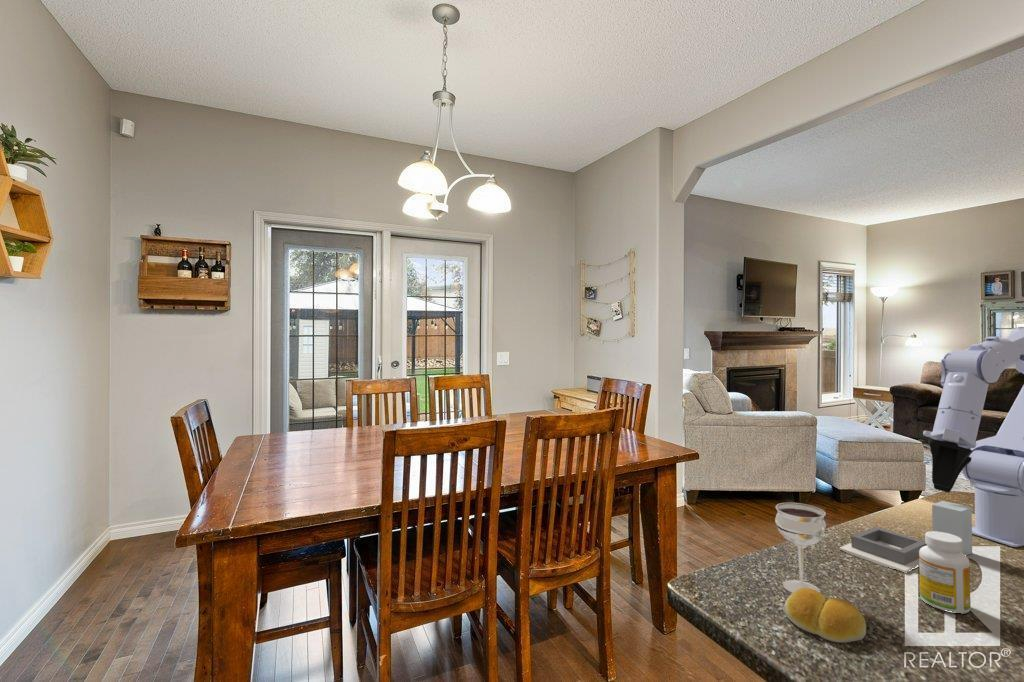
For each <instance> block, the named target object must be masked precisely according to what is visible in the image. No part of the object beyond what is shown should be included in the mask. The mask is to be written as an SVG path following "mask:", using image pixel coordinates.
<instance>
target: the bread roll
mask: <svg viewBox="0 0 1024 682" xmlns="http://www.w3.org/2000/svg"><path fill="white" fill-rule="evenodd" d="M783 610H784V614H785V616H786V617H787V619H788V620H789V621H790V622H791V623H793V624H794V625H795V626H796V627H798V628H799V629H801V630H803V631H805V632H807V633H811V634H813V635H817V636H819V637H820V638H822V639H824V640H827V641H830V642H832V643H840V644H842V643H851V642H852V643H853V642H857V641H862V640H863V639H864V638H865V636H866V634H867V622H866V620H865V618H864V615H863V613H862V612H861V611H860V610H859V609H858V608H857V607H856V606H854V605H853V604H851V603H850V602H848V601H846V600H844V599H841V598H836V597H831V598H830V597H829V598H828V597H826V595H824V594H823V593H822V592H821V593H820V592H818V591H816V590H813V589H810V588H801V589H798V590H797V591H795V592H794V593H792V592H791V594H790V595H789V596H788V598H786V600H785V603H784V606H783Z"/></svg>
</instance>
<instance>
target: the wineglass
mask: <svg viewBox="0 0 1024 682" xmlns="http://www.w3.org/2000/svg"><path fill="white" fill-rule="evenodd" d="M775 509H776V511H777V513H776V515H775V519H774V521H775V522H774V523H775V526H776V528H777V530H778V532H779V533H780V534H781V535H782V537H783V538H785V539H786V540H787V541H789V542H791V543H793V545H795V547H797V557H798V571H799V572H798V573H799V580H797V579H791V580H785V581H784V582H783V583H782V587H784V589H785V590H787V591H788V592H789V593H791V594H792V593H794V592H795V591H797V590H798V589H801V588H810V589H813V590H816V591H818V592H820V593H822V592H821V590H820V588H818V587H817V586H816V585H814V584H812V583H809V582H807V581H804V555H805V553H804V552H805V551H804V549H806V548H807V547H808V546H812V545H816V544H817V543H819V542H820V541H821V540H823V539H824V538H825V535H826V533H827V524H826V521H825V519H824V518H825V517H826V514H827V513H826V512H825V510H824V509H821V508H819V507H816V506H814V505H811V504H806V503H799V502H781V503H777V504H776V505H775Z"/></svg>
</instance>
